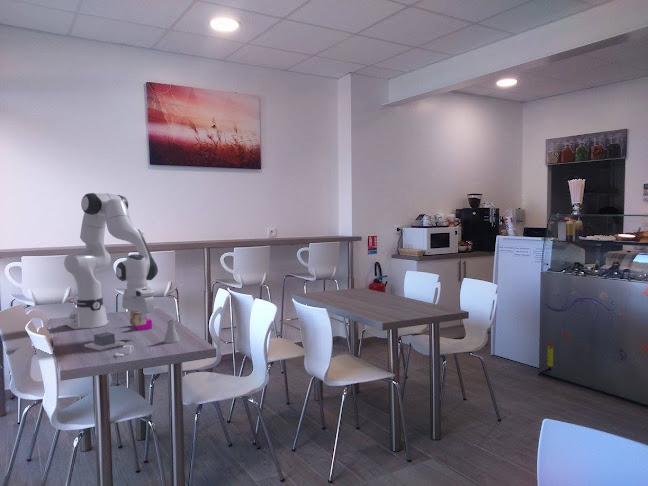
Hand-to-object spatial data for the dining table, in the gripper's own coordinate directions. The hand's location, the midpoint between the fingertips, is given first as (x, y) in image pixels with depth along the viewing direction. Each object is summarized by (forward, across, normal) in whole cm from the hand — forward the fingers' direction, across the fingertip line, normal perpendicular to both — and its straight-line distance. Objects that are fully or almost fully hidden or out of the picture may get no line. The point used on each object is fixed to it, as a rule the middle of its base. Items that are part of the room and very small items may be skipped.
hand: (138, 320), depth 236 cm
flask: (+8, +19, +4) cm, 21 cm away
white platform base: (+8, -1, -16) cm, 18 cm away
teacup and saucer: (+9, +18, -20) cm, 28 cm away
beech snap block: (+2, 0, 0) cm, 2 cm away
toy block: (+9, -20, +15) cm, 27 cm away
